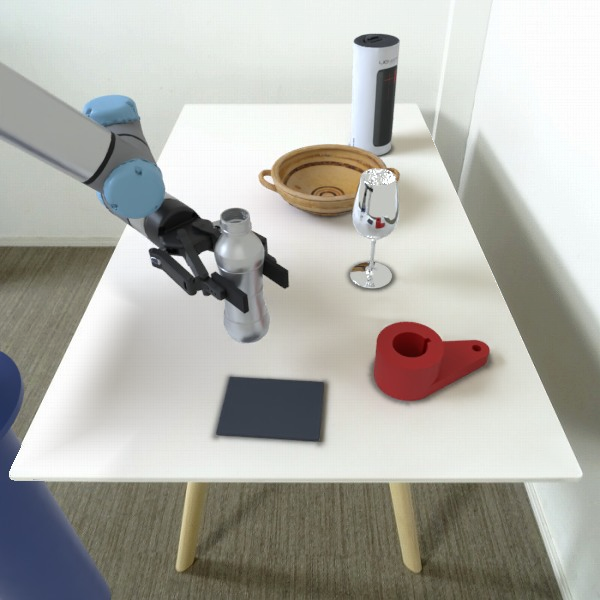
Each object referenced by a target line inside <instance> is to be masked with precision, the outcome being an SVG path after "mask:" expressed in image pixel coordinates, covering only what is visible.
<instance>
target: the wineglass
mask: <svg viewBox="0 0 600 600" xmlns="http://www.w3.org/2000/svg"><path fill="white" fill-rule="evenodd" d="M399 219H400V198H399V188H398V182H397V181H396V176H395V174H394V173H393V172H391V171H389V170H386V169H378V168H377V169H369V170H366V171H365V172H363V173H362V174H361V177H360V180H359V184H358V187H357V190H356V194H355V198H354V203H353V209H352V212H351V221H352V224H353V227H354V229H355V230H356V232H357V233H358V234H360V235H361V236H362V237H363V238H366V239H368V240H370V255H369V261H365V262H360V263H358V264H355V265H354V266H352V268H351V270H350V272H349V277H350V279H351V281H352V283H354V284H355V285H357V286H359V287H361V288H364V289H372V290H373V289H380V288H383V287H386V286H387V285H388V284H390V282H391V281H392V278H393V274H392V271H391V270H390V268H388V267H387V266H386V265H384V264H382V263H380V262H375V253H376V251H375V250H376V244H377V241H378V240H382V239H384V238H386V237H389V236H390V235H391V234H392V233H393V232H394V231H395V230H396V228H397V226H398V223H399Z"/></svg>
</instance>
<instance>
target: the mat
mask: <svg viewBox="0 0 600 600" xmlns="http://www.w3.org/2000/svg"><path fill="white" fill-rule="evenodd" d="M324 385H325V382H324V381H317V380H316V381H315V380H314V381H313V380H298V379H297V380H296V379H294V380H293V379H277V378H261V377H243V376H242V377H241V376H229V379H228V383H227V387H226V391H225V395H224V399H223V402H222V407H221V410H220V415H219V419H218V422H217V426H216V431H215V434H216V435H217V436H228V437H245V438H247V437H248V438H259V439H261V438H262V439H273V440H293V441H305V442H306V441H308V442H320V439H321V437H320V436H321V423H322V414H323V413H322V412H323V399H324V387H325V386H324Z"/></svg>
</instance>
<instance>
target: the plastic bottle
mask: <svg viewBox="0 0 600 600" xmlns="http://www.w3.org/2000/svg"><path fill="white" fill-rule="evenodd" d="M219 220H220V221H221V225H220V226H221V231H222V234H221V236H220V237H219V239H218V241H217V243H216V245H215V250H214V252H213V256H214V259H215V260H214V261H215V263H216V267H217V270H218V272H219V273H218V274H220V275H221V276H222V277H224V278H225V279H227V280H228V281H229V282H231V283H232V284H233V285H235V286H236V287H238V288H239V289H240V290H242V291H243V292H245V293H246V294H247V295H248V304H249V311H248V312H247V313H245V314H244V313H243V312H241V311H240V310H239V309H238V308H236V307H235V306H234V305H232V304H231V303H230V302H228V301H227V300H226V299H224V300H223V302H224V310H223V326H224V328H225V331H226V334H227V335H228V337H229V338H231V339H232V340H234V341H235V342H237V343H240V344H243V345H244V344H247V345H249V344H255V343H257V342H259V341H261V340H262V339H263V338H264V337H265V336H266V335H267V334H268V332H269V328H270V322H271V319H270V314H269V310H268V307H267V305H266V300H265V294H264V281H263V280H264V278H263V276H264V275H263V264H264V247H263V245H262V242H261V240H260V239H259V238H258V237H257V236H256V235H255V234H254V233H253V232H252V231H253V225H252V222H251V221H252V220H251V215H250V212H249V210H247V209H245V208H242V207H230V208H227V209H225V210H223V211H222V212H221V213H220V215H219ZM251 230H252V231H251Z"/></svg>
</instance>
